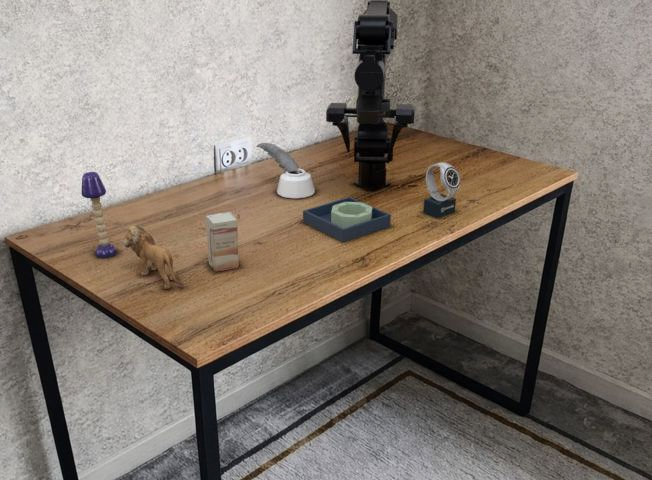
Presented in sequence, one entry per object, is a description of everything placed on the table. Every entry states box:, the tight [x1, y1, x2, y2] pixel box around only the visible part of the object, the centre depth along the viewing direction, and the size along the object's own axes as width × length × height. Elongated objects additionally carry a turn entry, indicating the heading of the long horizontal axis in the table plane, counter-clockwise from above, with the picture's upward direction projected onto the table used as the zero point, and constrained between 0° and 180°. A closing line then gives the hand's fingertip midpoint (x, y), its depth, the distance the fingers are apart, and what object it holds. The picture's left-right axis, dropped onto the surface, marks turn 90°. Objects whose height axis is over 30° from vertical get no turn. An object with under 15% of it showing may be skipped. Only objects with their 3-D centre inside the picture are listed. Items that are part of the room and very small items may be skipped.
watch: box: [422, 161, 462, 219], centre depth 168 cm, size 6×8×11 cm
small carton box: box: [205, 211, 240, 272], centre depth 147 cm, size 5×4×10 cm
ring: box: [331, 201, 373, 229], centre depth 165 cm, size 8×8×3 cm
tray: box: [302, 196, 392, 243], centre depth 165 cm, size 14×13×3 cm
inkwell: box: [256, 142, 316, 200], centre depth 183 cm, size 9×18×10 cm, turn 48°
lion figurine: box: [120, 225, 185, 290], centre depth 143 cm, size 15×5×9 cm, turn 50°
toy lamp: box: [81, 171, 118, 259], centre depth 151 cm, size 5×5×17 cm
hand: (369, 152), depth 170 cm, fingers open, 9 cm apart
